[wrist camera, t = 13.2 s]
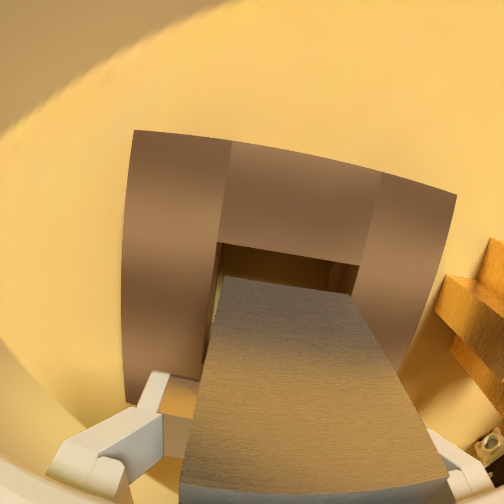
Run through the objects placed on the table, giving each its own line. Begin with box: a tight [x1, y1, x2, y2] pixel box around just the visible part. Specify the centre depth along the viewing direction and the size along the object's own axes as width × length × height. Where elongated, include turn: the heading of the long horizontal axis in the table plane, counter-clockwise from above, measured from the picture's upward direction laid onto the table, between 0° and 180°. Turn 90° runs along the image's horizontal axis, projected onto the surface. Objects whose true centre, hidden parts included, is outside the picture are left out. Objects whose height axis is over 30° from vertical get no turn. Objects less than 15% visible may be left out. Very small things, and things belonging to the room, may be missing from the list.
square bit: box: [179, 276, 450, 504], centre depth 8 cm, size 4×4×8 cm
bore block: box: [121, 130, 457, 405], centre depth 16 cm, size 14×14×4 cm
